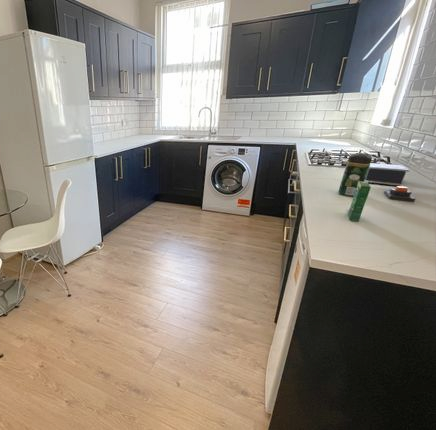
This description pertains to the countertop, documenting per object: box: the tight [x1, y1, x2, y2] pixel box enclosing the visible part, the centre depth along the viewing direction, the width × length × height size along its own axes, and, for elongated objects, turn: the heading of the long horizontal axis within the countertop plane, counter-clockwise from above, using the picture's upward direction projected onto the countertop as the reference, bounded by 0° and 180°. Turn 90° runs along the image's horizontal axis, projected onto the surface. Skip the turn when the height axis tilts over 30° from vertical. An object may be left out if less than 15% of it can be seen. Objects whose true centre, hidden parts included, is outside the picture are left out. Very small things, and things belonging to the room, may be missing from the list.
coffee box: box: [347, 181, 372, 222], centre depth 100 cm, size 8×3×13 cm, turn 145°
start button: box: [395, 185, 409, 192], centre depth 122 cm, size 4×4×2 cm
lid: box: [369, 162, 410, 173], centre depth 142 cm, size 14×12×1 cm
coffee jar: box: [338, 152, 373, 197], centre depth 125 cm, size 10×8×19 cm
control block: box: [383, 187, 416, 203], centre depth 123 cm, size 10×8×4 cm
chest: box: [364, 168, 407, 188], centre depth 144 cm, size 14×12×8 cm
